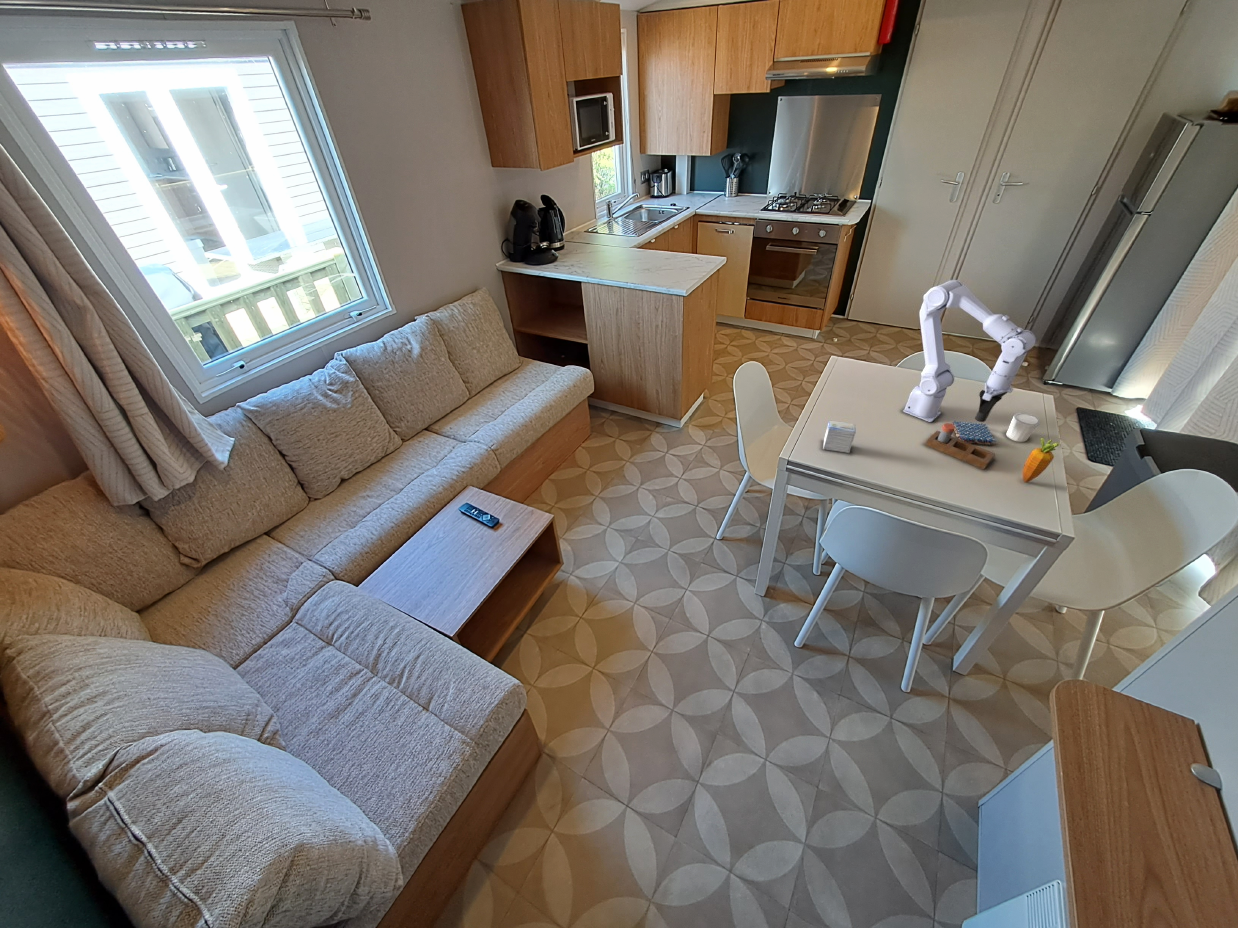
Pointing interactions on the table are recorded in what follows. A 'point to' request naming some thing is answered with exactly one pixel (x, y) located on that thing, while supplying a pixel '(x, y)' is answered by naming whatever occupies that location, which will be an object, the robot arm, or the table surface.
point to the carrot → (1038, 461)
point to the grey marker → (946, 433)
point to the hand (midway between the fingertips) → (984, 410)
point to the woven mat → (973, 433)
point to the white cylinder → (1022, 427)
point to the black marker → (982, 416)
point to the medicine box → (839, 436)
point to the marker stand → (962, 450)
